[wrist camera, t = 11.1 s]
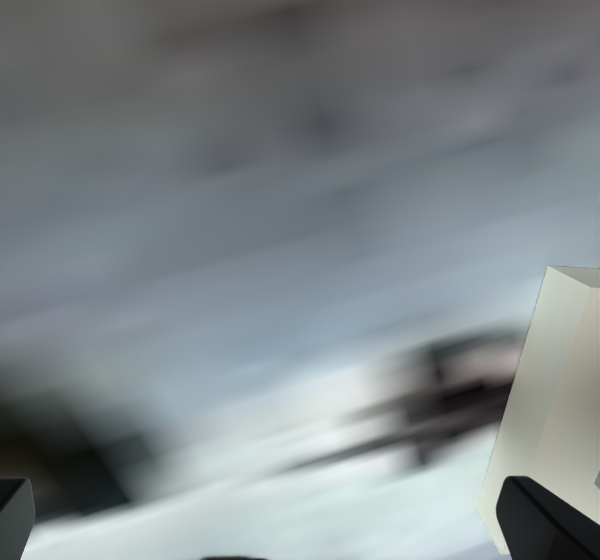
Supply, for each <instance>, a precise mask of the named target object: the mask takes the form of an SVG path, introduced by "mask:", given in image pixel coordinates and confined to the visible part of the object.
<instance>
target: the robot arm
mask: <svg viewBox="0 0 600 560" xmlns="http://www.w3.org/2000/svg"><path fill="white" fill-rule="evenodd" d="M496 517H497V520H498V523H499V526H500V528H501V531H502V534H503V536H504V539H505V542H506V544H507V547H508V550H509V552H510V555H511V557H512V560H600V525H599V524H598V523H596V522H595V521H593V520H592V519H590V518H589V517H587V516H586V515H584V514H583V513H582V512H580V511H579V510H577V509H576V508H574V507H573V506H571V505H570V504H568V503H567V502H565V501H564V500H562V499H561V498H559V497H558V496H557V495H555V494H554V493H552V492H551V491H549V490H548V489H546V488H545V487H543V486H542V485H540V484H539V483H537V482H536V481H535V480H533V479H532V478H530V477H528V476H507V477H506V478H505V479H504V481H503V485H502V488H501V491H500V494H499V497H498V500H497V504H496ZM34 520H35V507H34V500H33V494H32V487H31V482H30V480H29V479H28V478H26V477H4V478H2V479H0V560H20V559H21V556H22V554H23V551H24V548H25V546H26V543H27V540H28V538H29V535H30V533H31V530H32V527H33V524H34Z"/></svg>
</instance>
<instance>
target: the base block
mask: <svg viewBox="0 0 600 560" xmlns="http://www.w3.org/2000/svg"><path fill="white" fill-rule="evenodd" d="M599 470H600V269H594V268H577V267H560V266H548V267H547V270H546V273H545V277H544V280H543V283H542V287H541V290H540V294H539V297H538V300H537V304H536V307H535V311H534V314H533V317H532V321H531V324H530V327H529V331H528V334H527V338H526V341H525V344H524V348H523V351H522V354H521V358H520V361H519V365H518V368H517V371H516V375H515V378H514V381H513V385H512V388H511V392H510V395H509V398H508V402H507V405H506V408H505V412H504V415H503V419H502V422H501V425H500V429H499V432H498V435H497V439H496V442H495V446H494V449H493V452H492V456H491V459H490V462H489V466H488V469H487V473H486V476H485V479H484V483H483V486H482V489H481V493H480V496H479V500H478V503H477V506H476V511H477V513H478V514H479V516H480V518H481V520H482V521H483V523H484V525H485V527H486V528H487V530H488V532H489V534H490V536H491V537H492V539H493V541H494V543H495V544H496V546H497V548H498V550H499V552H500V553H501V554H510V552H509V550H508V547H507V544H506V542H505V539H504V536H503V534H502V531H501V528H500V526H499V523H498V520H497V517H496V504H497V500H498V497H499V494H500V491H501V488H502V485H503V481H504V479H505V478H506V477H507V476H528V477H530V478H532V479H533V480H535V481H536V482H537V483H539V484H540V485H542V486H543V487H545V488H546V489H548V490H549V491H551V492H552V493H554V494H555V495H557V496H558V497H559V498H561V499H562V500H564V501H565V502H567V503H568V504H570V505H571V506H573V507H574V508H576V509H577V510H579V511H580V512H582V513H583V514H584V515H586V516H587V517H589V518H590V519H592V520H593V521H595V522H596V523H598V524H599V525H600V489H599V488H598V487H597V486H596V485H595V484H594V483H595V480H596V478H597V475H598V473H599Z"/></svg>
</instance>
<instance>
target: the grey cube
mask: <svg viewBox="0 0 600 560" xmlns="http://www.w3.org/2000/svg"><path fill="white" fill-rule="evenodd" d="M594 484H595V485H596V486H597V487H598V488H599V489H600V470H599V473H598V475H597V478H596V480H595V483H594Z"/></svg>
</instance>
